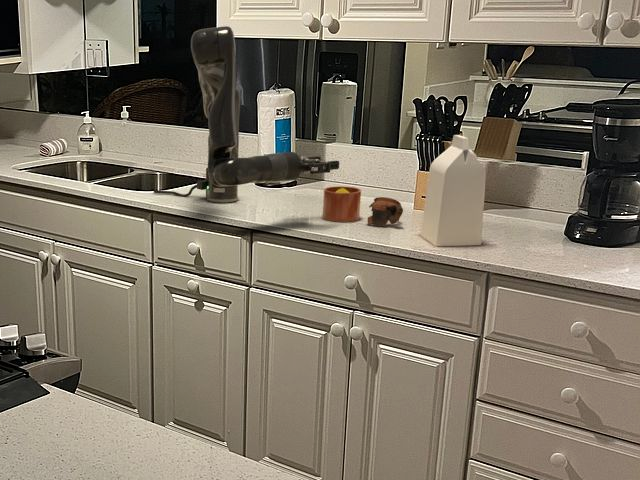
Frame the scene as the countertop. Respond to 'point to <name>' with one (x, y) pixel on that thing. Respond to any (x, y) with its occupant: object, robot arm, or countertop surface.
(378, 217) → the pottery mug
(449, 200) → the milk
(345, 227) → the countertop surface
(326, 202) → the crock
